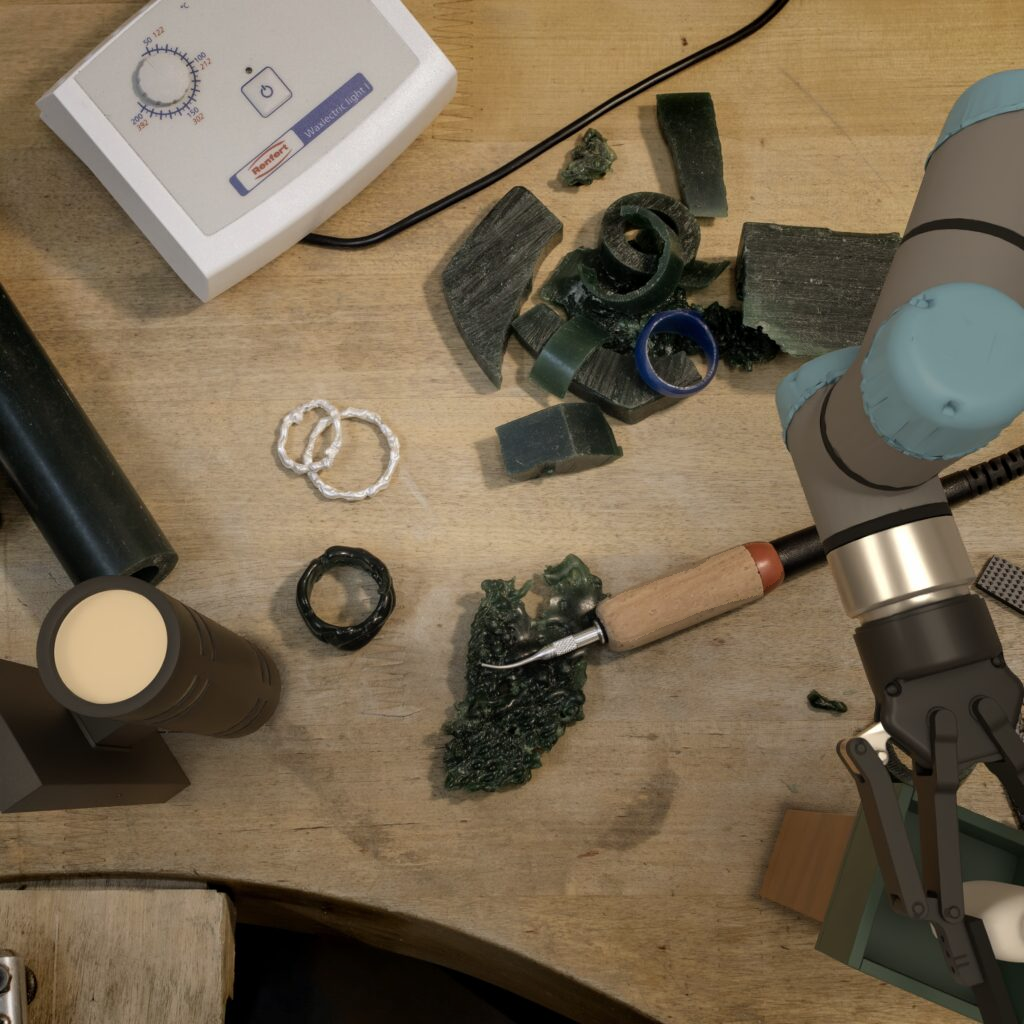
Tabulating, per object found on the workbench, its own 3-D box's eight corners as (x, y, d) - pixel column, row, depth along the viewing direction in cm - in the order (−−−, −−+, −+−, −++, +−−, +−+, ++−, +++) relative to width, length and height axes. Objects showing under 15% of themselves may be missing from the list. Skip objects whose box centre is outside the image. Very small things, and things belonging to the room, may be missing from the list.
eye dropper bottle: (1009, 963, 63) (1126, 1004, 51) (917, 932, 63) (1013, 966, 52) (1022, 889, 64) (1140, 913, 52) (932, 859, 64) (1030, 877, 53)
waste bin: (1027, 849, 72) (1081, 855, 65) (980, 1020, 69) (1032, 1045, 63) (866, 782, 73) (903, 782, 66) (813, 948, 70) (847, 965, 64)
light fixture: (304, 707, 98) (213, 671, 66) (166, 804, 96) (2, 815, 64) (244, 616, 100) (128, 538, 68) (107, 708, 98) (-80, 673, 66)
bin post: (868, 843, 96) (995, 864, 72) (841, 930, 94) (962, 981, 70) (785, 808, 96) (883, 817, 72) (757, 894, 95) (847, 932, 70)
